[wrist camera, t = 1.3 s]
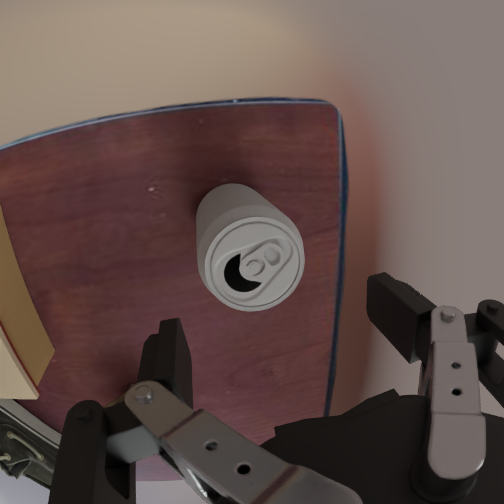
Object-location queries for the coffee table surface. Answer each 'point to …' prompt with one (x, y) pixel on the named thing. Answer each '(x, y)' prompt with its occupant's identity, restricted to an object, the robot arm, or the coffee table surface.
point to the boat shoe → (26, 444)
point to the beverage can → (247, 249)
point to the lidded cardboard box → (19, 330)
